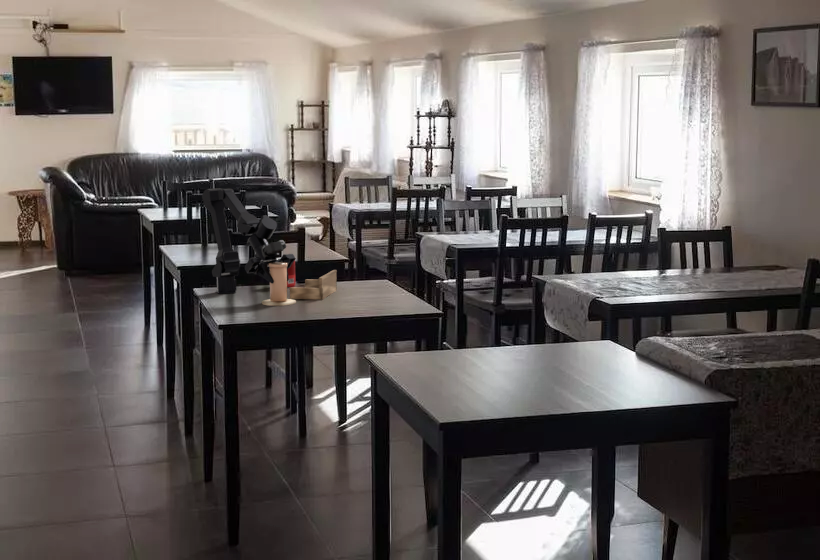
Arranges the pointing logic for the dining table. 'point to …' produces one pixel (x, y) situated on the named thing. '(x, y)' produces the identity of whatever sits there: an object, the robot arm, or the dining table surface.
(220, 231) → the robot arm
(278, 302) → the cream flat disc
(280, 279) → the terracotta pot
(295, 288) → the cold frame
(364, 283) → the dining table surface
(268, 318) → the dining table surface
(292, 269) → the canned food
